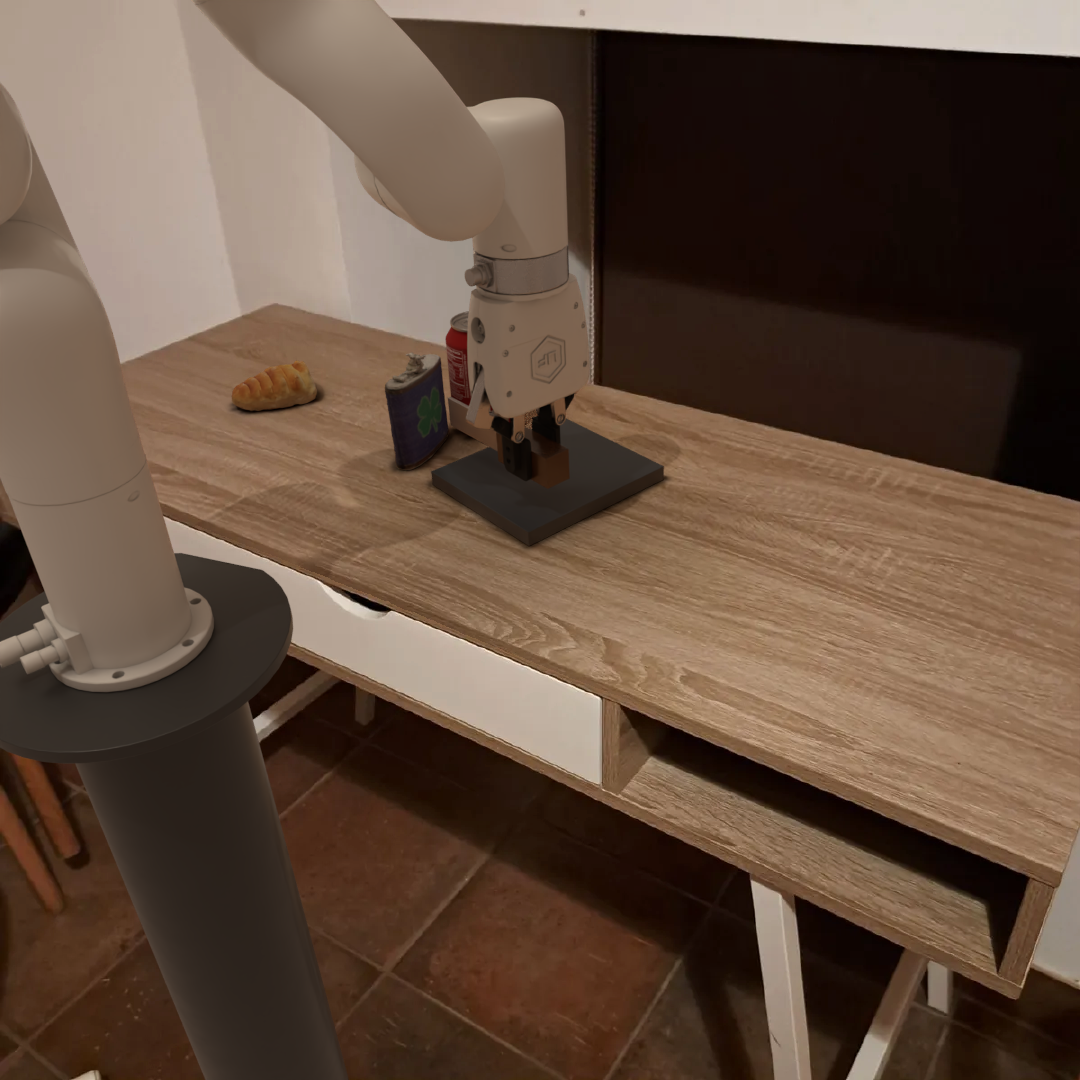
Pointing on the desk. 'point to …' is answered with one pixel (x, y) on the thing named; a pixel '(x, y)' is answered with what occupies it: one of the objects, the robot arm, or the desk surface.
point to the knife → (545, 453)
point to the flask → (417, 411)
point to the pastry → (276, 388)
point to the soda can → (459, 359)
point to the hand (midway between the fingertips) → (533, 466)
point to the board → (541, 512)
